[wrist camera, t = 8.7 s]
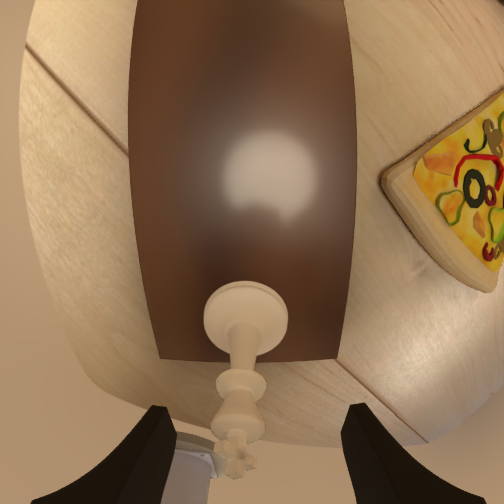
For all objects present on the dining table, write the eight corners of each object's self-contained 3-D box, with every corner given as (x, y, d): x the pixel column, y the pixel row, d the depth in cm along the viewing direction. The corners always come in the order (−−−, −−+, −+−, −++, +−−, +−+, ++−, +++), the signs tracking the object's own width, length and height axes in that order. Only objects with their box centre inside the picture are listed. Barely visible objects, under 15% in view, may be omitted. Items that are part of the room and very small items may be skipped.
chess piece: (239, 362, 17) (228, 503, 8) (187, 310, 16) (128, 455, 6) (303, 324, 16) (338, 475, 7) (253, 263, 15) (248, 419, 5)
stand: (170, 334, 20) (154, 370, 16) (174, -90, 7) (165, -113, 3) (328, 333, 20) (341, 370, 16) (305, -96, 7) (310, -120, 3)
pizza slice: (362, 199, 17) (381, 207, 14) (462, 19, 11) (481, 10, 8) (472, 300, 19) (490, 316, 16) (546, 138, 13) (564, 140, 10)
